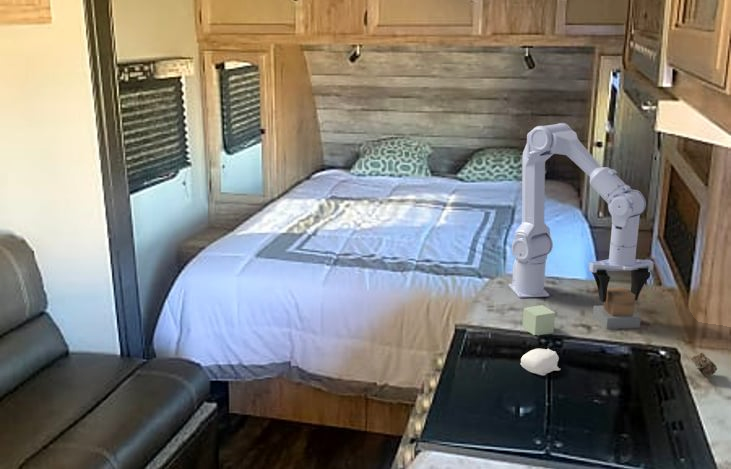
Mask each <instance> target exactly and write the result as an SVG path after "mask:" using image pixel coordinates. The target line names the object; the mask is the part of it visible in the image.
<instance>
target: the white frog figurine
mask: <svg viewBox="0 0 731 469" xmlns="http://www.w3.org/2000/svg"><path fill="white" fill-rule="evenodd" d="M559 359H560V358H559V355H558V354H557V351H555V350H554V351H553V350H552V349H550V348H547V349H545V348H534V349H531V350H529V351H528V352H526V353H525V354H523V355H522V357H521V358H520V365H521V367H522V368H523V369H525V370H526V371H527V372H529V373H532V374H536V375H539V376H546V375H547V374H549V373H552V372H553V371H556V372H557V371H558V372H559V371H561V368H559V366H558V363H559Z"/></svg>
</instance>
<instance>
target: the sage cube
mask: <svg viewBox="0 0 731 469" xmlns="http://www.w3.org/2000/svg"><path fill="white" fill-rule="evenodd" d="M522 315H523V316H522V328H523V329H524V330H525V331H527V332H529V333H530V334H532V335H533V336H534V335H537V336H542V335H549V334H554V333H555V332H554V331H555V318H556V312H555V311H553V310H552V309H550V308H548V307H546V306H545V305H543V304H541V305H534V306H528V307H523V314H522Z"/></svg>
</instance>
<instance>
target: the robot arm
mask: <svg viewBox="0 0 731 469" xmlns="http://www.w3.org/2000/svg"><path fill="white" fill-rule="evenodd" d="M556 154H557V155H562V156H566V157H567V158H569V159H570V160H571V161H572V162H574V164H575V165H576V166H577V167H579V169H581V170H582V171H583V172H584V173H585V174H586V175H587V176H588V177H589V185H590V186H591V187H592V189H594V190H595V192H597V194H598V195H599V196H600V197H601V198H602V199H603V201H605V202H606V204H607V207H608V209H607V210H608V213H609V214H610V216H611V223H612V224H611V231H610V232H611V234H610V243H609V255H608V259H604V260H597V261H590V262H589V268H588V271H590V272H591V273H592V275H593V276H592V277H593V278H594V281H595V283H596V286H597V287H596V288H597V292H598V299H599V300H600V301H601V302H602V303H604V302H606V297H607V288H609V287H608V286H609V282H610V279H611V276H610V275H609V274H608V272H612V271H613V272H615V271H616V272H618V271H630V273H631V274H630V276H631V284H630V291H631V292H632V293H633V294H635V302H636V301H638V299H639V296H640V293H641V291H642V289H643V287H644V285H645V284H646V282H647V281H648V280H649V279H650V278H651V272H650V271H653V270H654V265H655V264H654V261H652V260H651V259H636V254H637V246H638V245H637V244H638V235H639V229H640V228H639V227H640V226H639V225H640V216H641V214H642V213H643V212H644V210H646V206H647V205H646V203H647V202H646V201H647V200H646V198H645V197H644V195H643V193H642V192H641V191H639V190H638V189H632V188H631V186H630V185H629V184H626V183H625V182H624V181H623V180H622V179H621V178H620V177H619V176H618V175H617V174H618V171H617V170H615V169H614V168H612V169H611V168H610V167H609V166H606V167H605V166H604V167H603V166H601V165H600V164H599V163H598V161H597V160H596V159H595V157H594V156H593V155H592V154H591V152H590V151H589V150H588V149H587V148H586V146H584V145H583V143H582V142H581V141H580V140H579V138H578V135H577V132H576V131H574V130H573V129H572V128H571V126H570V125H568V124H567V123H565V122H558V123H556V124H549V125H537V126H535V127H534V128H533V129H532V130H530V131H529V132H528V133H527V135H526V144H525V147H524V149H523V152H522V161H521V162H522V166H521V168H522V169H521V170H522V175H521V176H522V178H521V179H522V181H521V182H522V184H521V185H522V187H521V194H522V198H521V199H522V200H521V202H522V203H521V205H522V206H521V224H520V225H519V226H518V227H517V229H516V230H515V232H514V239H513V241H512V244H511V251H512V255H513V256H514V258H515V260H514V261H513V266H512V282H511V283H509V284H508V286H509V288H511V290H512V291H513V292H514V293H515V294H516V295H517V297H518V298H539V297H540V298H543V297H545V298H546V297H550V294H549V293H548V292H547V291H546V290H545V281H546V280H545V277H546V264H547V259H548V255H549V254H550V253H551V252H552V251H553V248H554V246H553V245H554V243H553V239H552V236H551V229H550V227H549V226H548V225H547V223H545V200H546V199H545V197H546V196H545V194H546V192H545V190H546V188H545V186H546V161H547V160H549V159H550V158H551V156H553V155H556Z"/></svg>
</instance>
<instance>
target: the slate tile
mask: <svg viewBox="0 0 731 469" xmlns="http://www.w3.org/2000/svg"><path fill="white" fill-rule="evenodd" d="M603 306H604V305H593V309H592V317H594V319H595V320H596V321H597V322H598V323H600V325H602V326H603V327H604V328H605V329H606V330H609V329H612V330H613V329H633V328H634V329H635V328H641V320H642V316H640V315H639V314H638V313H637V312H635V311H634V312H633V315H628V316H612V315H610V314H609V313H608V312H607V311H606V310H605V309H604V308H603Z"/></svg>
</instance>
